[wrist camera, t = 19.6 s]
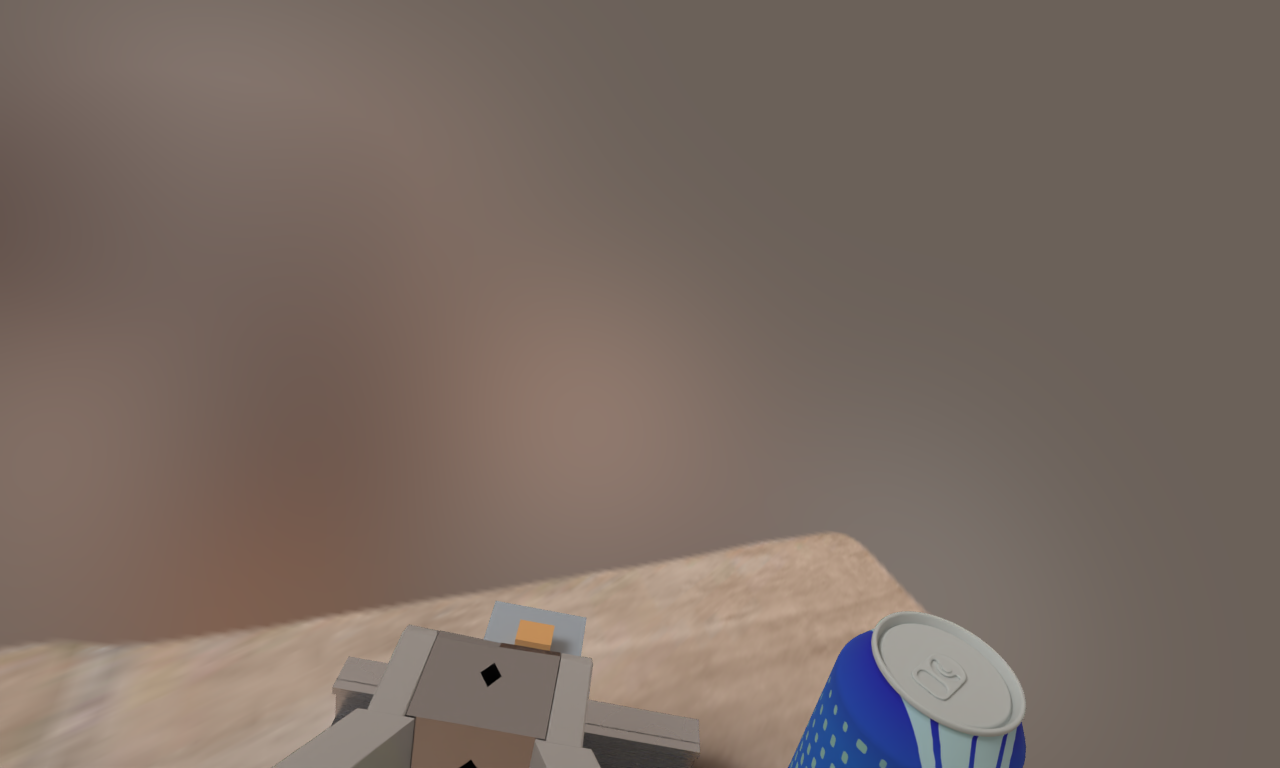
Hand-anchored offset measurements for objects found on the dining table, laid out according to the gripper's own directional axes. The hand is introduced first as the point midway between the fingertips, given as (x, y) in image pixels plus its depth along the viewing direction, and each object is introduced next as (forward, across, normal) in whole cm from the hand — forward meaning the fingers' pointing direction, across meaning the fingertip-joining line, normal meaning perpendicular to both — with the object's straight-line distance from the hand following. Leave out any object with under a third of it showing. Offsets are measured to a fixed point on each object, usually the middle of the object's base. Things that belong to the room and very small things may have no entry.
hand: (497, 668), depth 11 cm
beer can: (+15, -18, +28) cm, 37 cm away
